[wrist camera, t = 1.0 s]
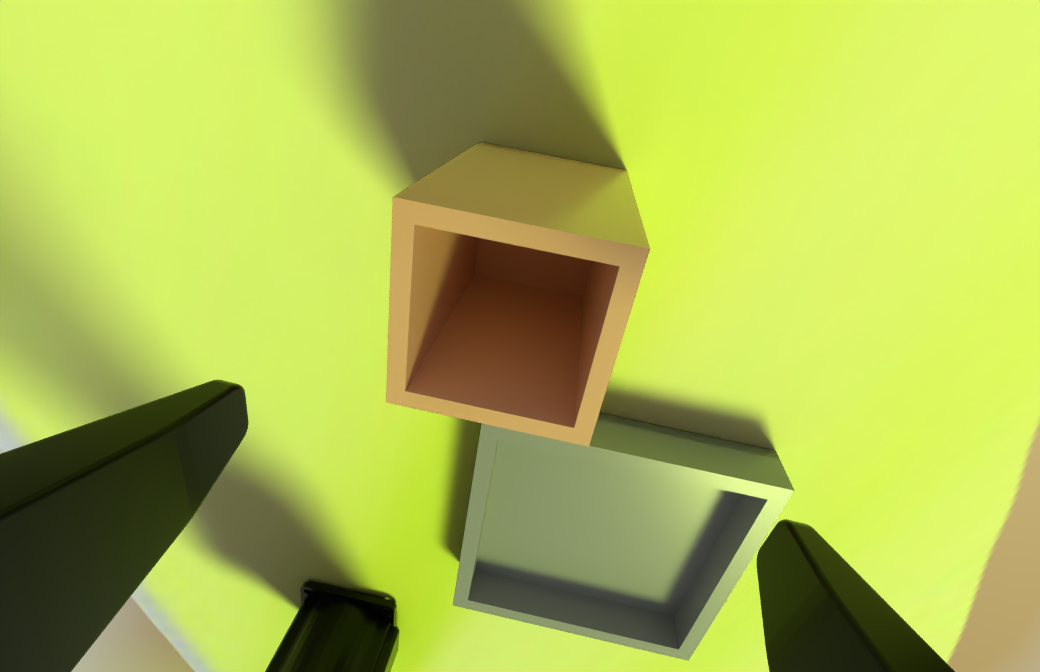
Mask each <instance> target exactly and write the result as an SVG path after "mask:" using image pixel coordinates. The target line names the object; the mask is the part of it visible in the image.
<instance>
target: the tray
mask: <svg viewBox="0 0 1040 672" xmlns="http://www.w3.org/2000/svg"><path fill="white" fill-rule="evenodd" d="M793 492H794V489H793V487H792V484H791V482H790V480H789V478H788V476H787V474H786V472H785V470H784V467H783V465H782V463H781V461H780V459H779V457H778V455H777V452H776V451H774V450H770V449H765V448H761V447H756V446H751V445H747V444H742V443H738V442H733V441H728V440H724V439H719V438H714V437H710V436H705V435H701V434H696V433H691V432H687V431H682V430H677V429H673V428H668V427H664V426H659V425H654V424H650V423H645V422H640V421H636V420H631V419H627V418H622V417H617V416H613V415H608V414H604V413H599V415H598V419H597V422H596V425H595V428H594V432H593V435H592V438H591V441H590V445H589V447H588V446H583V445H579V444H574V443H569V442H565V441H560V440H556V439H551V438H547V437H542V436H538V435H533V434H528V433H524V432H519V431H515V430H510V429H506V428H501V427H497V426H492V425H487V424H483V423H482V424H481V431H480V437H479V443H478V449H477V456H476V462H475V468H474V474H473V481H472V487H471V493H470V500H469V506H468V512H467V518H466V525H465V531H464V537H463V544H462V550H461V556H460V562H459V569H458V575H457V581H456V587H455V594H454V600H453V605H454V606H458V607H463V608H467V609H471V610H475V611H480V612H484V613H488V614H492V615H497V616H501V617H505V618H509V619H514V620H518V621H522V622H526V623H531V624H535V625H539V626H543V627H548V628H552V629H556V630H560V631H565V632H569V633H573V634H577V635H582V636H586V637H590V638H594V639H599V640H603V641H607V642H611V643H616V644H620V645H624V646H628V647H633V648H637V649H641V650H645V651H650V652H654V653H658V654H662V655H667V656H671V657H675V658H679V659H684V660H688V661H689V659H690V658H691V656H692V654H693V653H694V651H695V649H696V648H697V646H698V645H699V643H700V641H701V640H702V638H703V637H704V635H705V633H706V632H707V630H708V629H709V627H710V625H711V624H712V622H713V621H714V619H715V617H716V616H717V614H718V613H719V611H720V609H721V608H722V606H723V605H724V603H725V601H726V600H727V598H728V597H729V595H730V593H731V592H732V590H733V589H734V587H735V585H736V584H737V582H738V581H739V579H740V577H741V576H742V574H743V572H744V571H745V569H746V568H747V566H748V564H749V563H750V561H751V560H752V558H753V556H754V555H755V553H756V552H757V550H758V548H759V547H760V545H761V544H762V542H763V540H764V539H765V537H766V536H767V534H768V532H769V531H770V529H771V528H772V526H773V524H774V523H775V521H776V520H777V518H778V516H779V515H780V513H781V512H782V510H783V508H784V507H785V505H786V504H787V502H788V500H789V499H790V497H791V495H792V494H793Z"/></svg>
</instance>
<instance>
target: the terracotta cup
mask: <svg viewBox="0 0 1040 672" xmlns="http://www.w3.org/2000/svg"><path fill="white" fill-rule="evenodd" d="M649 250H650V247H649V244H648V241H647V237H646V234H645V231H644V227H643V224H642V220H641V217H640V214H639V210H638V207H637V203H636V200H635V197H634V193H633V190H632V187H631V183H630V180H629V176H628V173H627V170H623V169H617V168H612V167H607V166H602V165H597V164H592V163H587V162H582V161H577V160H571V159H566V158H561V157H556V156H551V155H546V154H541V153H536V152H531V151H526V150H520V149H515V148H510V147H505V146H500V145H495V144H490V143H485V142H479V143H478V144H476V145H474V146H473V147H471V148H470V149H468V150H467V151H465V152H463V153H462V154H460V155H459V156H457V157H455V158H454V159H452V160H451V161H449V162H447V163H446V164H444V165H443V166H441V167H440V168H438V169H436V170H435V171H433V172H432V173H430V174H428V175H427V176H425V177H424V178H422V179H421V180H419V181H417V182H416V183H414V184H413V185H411V186H409V187H408V188H406V189H405V190H403V191H401V192H400V193H398V194H397V195H395V196H394V197H393V207H392V237H391V267H390V297H389V327H388V357H387V387H386V402H387V403H392V404H396V405H401V406H405V407H410V408H415V409H419V410H424V411H428V412H433V413H437V414H442V415H446V416H451V417H456V418H460V419H465V420H469V421H474V422H478V423H483V424H487V425H492V426H497V427H501V428H506V429H510V430H515V431H519V432H524V433H528V434H533V435H538V436H542V437H547V438H551V439H556V440H560V441H565V442H569V443H574V444H579V445H583V446H588V447H589V445H590V441H591V438H592V435H593V432H594V428H595V425H596V422H597V419H598V415H599V412H600V409H601V406H602V402H603V399H604V396H605V393H606V389H607V386H608V383H609V380H610V377H611V373H612V370H613V367H614V364H615V360H616V357H617V354H618V351H619V347H620V344H621V341H622V338H623V334H624V331H625V328H626V325H627V322H628V318H629V315H630V312H631V309H632V305H633V302H634V299H635V296H636V292H637V289H638V286H639V283H640V279H641V276H642V273H643V270H644V266H645V263H646V260H647V257H648V254H649Z"/></svg>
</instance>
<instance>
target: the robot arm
mask: <svg viewBox="0 0 1040 672" xmlns="http://www.w3.org/2000/svg"><path fill="white" fill-rule="evenodd" d="M247 429H248V414H247V405H246V397H245V391H244V389H243V387H242V386H241V385H239V384H235V383H231V382H227V381H223V380H213V381H210V382H207V383H204V384H201V385H198V386H195V387H193V388H190V389H187V390H184V391H181V392H178V393H175V394H172V395H169V396H167V397H164V398H161V399H158V400H155V401H152V402H149V403H146V404H143V405H140V406H138V407H135V408H132V409H129V410H126V411H123V412H120V413H117V414H114V415H112V416H109V417H106V418H103V419H100V420H97V421H94V422H91V423H88V424H85V425H83V426H80V427H77V428H74V429H71V430H68V431H65V432H62V433H59V434H56V435H54V436H51V437H48V438H45V439H42V440H39V441H36V442H33V443H30V444H28V445H25V446H22V447H19V448H16V449H13V450H10V451H7V452H4V453H2V454H0V672H71V671H72V670H73V668H74V667H75V666H76V665H77V663H78V662H79V661H80V659H81V658H82V657H83V656H84V654H85V653H86V652H87V650H88V649H89V648H90V647H91V646H92V644H93V643H94V642H95V641H96V639H97V638H98V637H99V635H100V634H101V633H102V632H103V630H104V629H105V628H106V627H107V625H108V624H109V623H110V622H111V620H112V619H113V618H114V616H115V615H116V614H117V613H118V611H119V610H120V609H121V608H122V606H123V605H124V604H125V602H126V601H127V600H128V599H129V597H130V596H131V595H132V594H133V592H134V591H135V590H136V589H137V587H138V586H139V585H140V584H141V582H142V581H143V580H144V578H145V577H146V576H147V575H148V573H149V572H150V571H151V570H152V568H153V567H154V566H155V565H156V563H157V562H158V561H159V559H160V558H161V557H162V556H163V554H164V553H165V552H166V551H167V549H168V548H169V547H170V546H171V544H172V543H173V542H174V540H175V539H176V538H177V537H178V535H179V534H180V533H181V532H182V530H183V529H184V528H185V526H186V525H187V524H188V522H189V521H190V520H191V518H192V517H193V516H194V514H195V513H196V511H197V510H198V508H199V507H200V505H201V504H202V502H203V501H204V499H205V498H206V496H207V495H208V493H209V491H210V490H211V488H212V487H213V485H214V484H215V482H216V480H217V479H218V477H219V476H220V474H221V473H222V471H223V470H224V468H225V466H226V465H227V463H228V462H229V460H230V459H231V457H232V455H233V454H234V452H235V451H236V449H237V448H238V446H239V444H240V443H241V441H242V440H243V438H244V436H245V434H246V432H247ZM757 573H758V582H759V591H760V600H761V609H762V618H763V627H764V636H765V645H766V652H767V659H768V666H769V671H770V672H955V671H954V670H953V669H952V668H951V667H950V666H949V665H948V664H947V663H946V662H945V661H944V660H943V659H942V658H941V657H940V656H939V655H938V654H937V653H936V652H935V651H934V650H933V649H932V648H931V647H930V646H929V645H928V644H927V643H926V642H925V641H924V640H923V639H922V638H921V637H920V636H919V635H918V634H917V633H916V632H915V631H914V630H913V629H912V628H911V627H910V626H909V625H908V624H907V623H906V622H905V621H904V620H903V619H902V618H901V617H900V616H899V615H898V614H897V613H896V612H895V611H894V610H893V609H892V608H891V607H890V606H889V605H888V603H887V602H886V601H885V600H884V599H883V598H882V597H881V596H880V595H879V594H878V593H877V592H876V591H875V590H874V589H873V588H872V587H871V586H870V585H869V584H868V583H867V582H866V581H865V580H864V579H863V578H862V577H861V576H860V575H859V574H858V573H857V572H856V571H855V570H854V569H853V568H852V567H851V566H850V565H849V564H848V563H847V562H846V561H845V560H844V559H843V558H842V557H841V556H840V555H839V554H838V553H837V552H836V551H835V550H834V549H833V548H832V547H831V546H830V545H829V544H828V543H827V542H826V541H825V540H824V539H823V538H822V537H821V536H820V535H819V534H818V533H817V532H816V531H815V530H814V529H813V528H812V527H811V526H809V525H807V524H804V523H799V522H795V521H791V520H787V519H786V520H781V521H780V522H778V523H777V525H776V526H775V528H774V529H773V531H772V532H771V533H770V535H769V536H768V538H767V539H766V541H765V542H764V544H763V545H762V546H761V548H760V550H759V552H758V555H757ZM300 591H301V601H302V605H301V607H300V609H299V611H298V613H297V615H296V616H295V618H294V620H293V622H292V624H291V625H290V627H289V629H288V631H287V633H286V635H285V636H284V638H283V640H282V642H281V644H280V645H279V647H278V649H277V651H276V653H275V655H274V656H273V658H272V660H271V662H270V664H269V665H268V667H267V669H266V671H265V672H390V671H391V668H392V665H393V662H394V660H395V657H396V654H397V651H398V642H399V629H398V627H397V626H395V624H396V608H397V606H396V604H395V603H394V602H392V601H390V600H385V599H381V598H377V597H373V596H368V595H364V594H360V593H356V592H352V591H347V590H343V589H339V588H335V587H330V586H326V585H322V584H318V583H313V582H308V581H307V582H305V583H304V584H303V585H302V587H301V590H300Z"/></svg>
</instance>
